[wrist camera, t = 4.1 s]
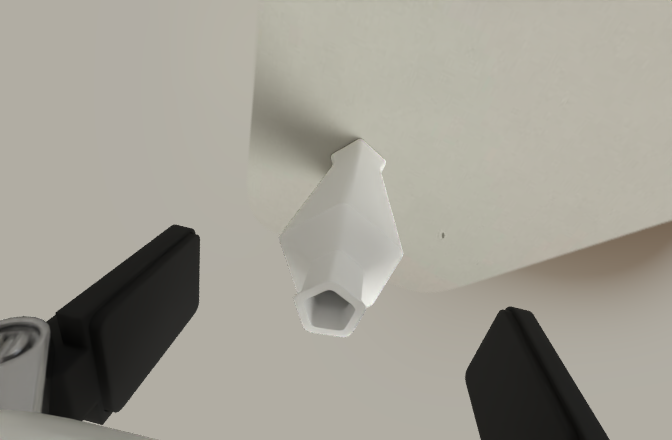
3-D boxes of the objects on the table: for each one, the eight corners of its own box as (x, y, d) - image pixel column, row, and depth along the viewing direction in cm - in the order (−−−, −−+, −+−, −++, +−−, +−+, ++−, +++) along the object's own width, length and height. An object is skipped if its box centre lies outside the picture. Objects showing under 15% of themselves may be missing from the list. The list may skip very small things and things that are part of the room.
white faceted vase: (395, 137, 22) (422, 254, 8) (385, 197, 24) (394, 370, 10) (328, 129, 22) (251, 231, 9) (323, 189, 24) (255, 348, 11)
